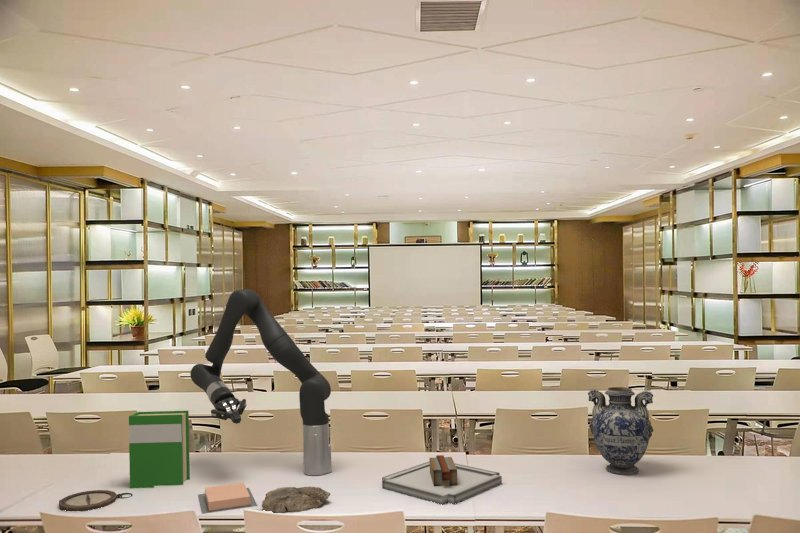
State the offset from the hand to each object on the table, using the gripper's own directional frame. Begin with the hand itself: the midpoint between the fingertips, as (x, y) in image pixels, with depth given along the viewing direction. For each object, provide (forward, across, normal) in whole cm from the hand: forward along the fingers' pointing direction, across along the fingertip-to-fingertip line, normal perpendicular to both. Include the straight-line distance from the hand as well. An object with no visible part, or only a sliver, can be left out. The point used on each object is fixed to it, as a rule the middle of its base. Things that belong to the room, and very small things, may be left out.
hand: (238, 421), depth 217 cm
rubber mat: (+19, -12, +13) cm, 26 cm away
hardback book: (-11, -26, +23) cm, 36 cm away
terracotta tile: (+13, -11, +14) cm, 22 cm away
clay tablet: (+35, +4, +12) cm, 37 cm away
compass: (-6, -47, +16) cm, 50 cm away
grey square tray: (+47, +50, +17) cm, 71 cm away
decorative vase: (+74, +107, +19) cm, 132 cm away
